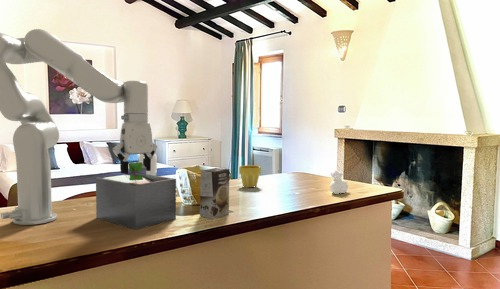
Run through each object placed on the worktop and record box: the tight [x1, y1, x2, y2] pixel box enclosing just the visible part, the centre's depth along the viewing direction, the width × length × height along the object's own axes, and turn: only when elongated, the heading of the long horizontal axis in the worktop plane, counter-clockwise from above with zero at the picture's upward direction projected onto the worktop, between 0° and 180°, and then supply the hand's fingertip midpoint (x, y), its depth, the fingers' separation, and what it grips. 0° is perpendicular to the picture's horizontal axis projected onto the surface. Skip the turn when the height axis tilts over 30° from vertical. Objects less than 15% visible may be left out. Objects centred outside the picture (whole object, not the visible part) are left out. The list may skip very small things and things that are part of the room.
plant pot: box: [238, 164, 262, 188], centre depth 189 cm, size 10×10×10 cm
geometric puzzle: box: [124, 160, 147, 183], centre depth 129 cm, size 7×7×8 cm
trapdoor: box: [104, 174, 152, 185], centre depth 131 cm, size 13×14×1 cm
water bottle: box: [138, 153, 158, 176], centre depth 157 cm, size 7×7×25 cm
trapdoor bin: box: [95, 174, 177, 231], centre depth 130 cm, size 16×21×14 cm
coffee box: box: [199, 167, 231, 220], centre depth 136 cm, size 9×6×16 cm
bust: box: [329, 170, 349, 195], centre depth 179 cm, size 12×8×11 cm
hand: (136, 171), depth 129 cm, fingers open, 8 cm apart
